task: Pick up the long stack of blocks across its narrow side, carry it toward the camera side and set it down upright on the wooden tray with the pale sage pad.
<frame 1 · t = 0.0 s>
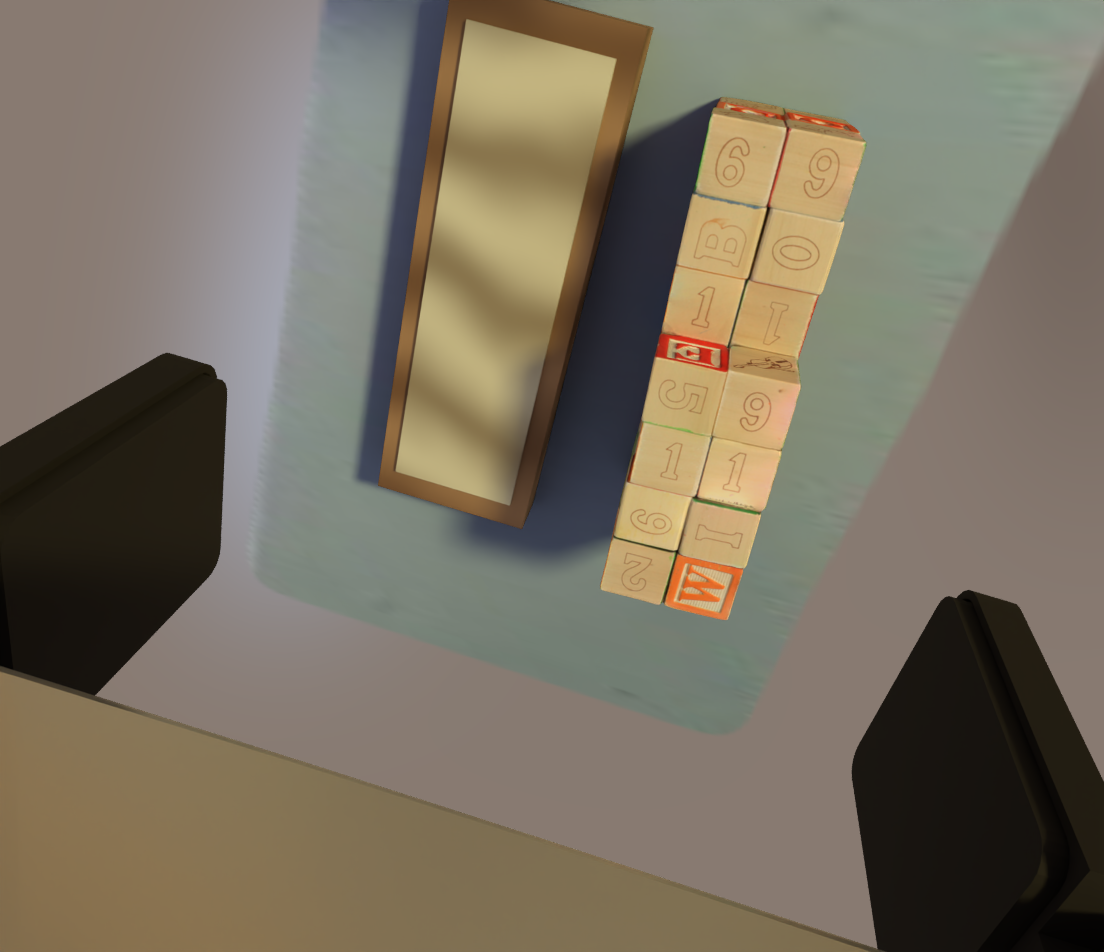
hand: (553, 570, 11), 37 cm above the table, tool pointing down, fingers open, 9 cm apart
stack of blocks: (724, 317, 47), on the table
wooden tray: (505, 277, 47), on the table
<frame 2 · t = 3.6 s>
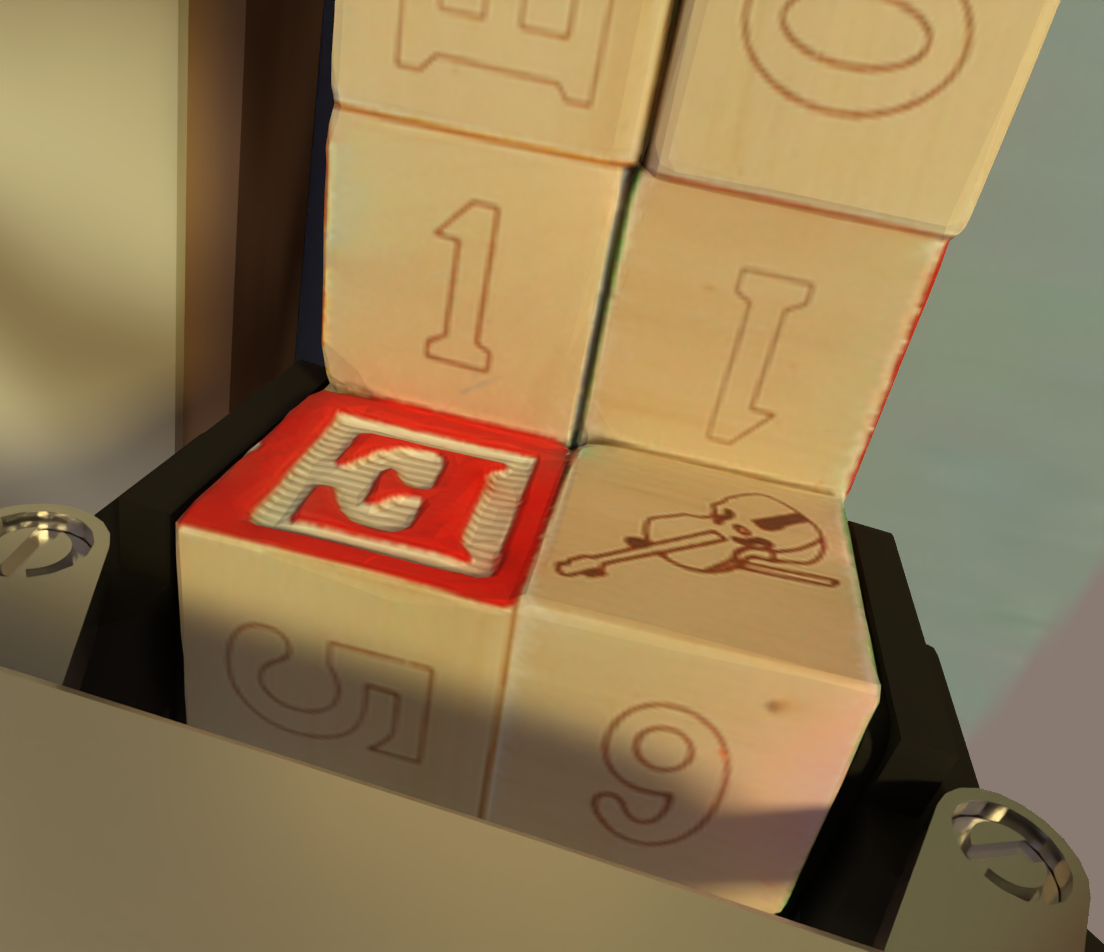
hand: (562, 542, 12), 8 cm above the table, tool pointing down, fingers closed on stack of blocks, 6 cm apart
stack of blocks: (632, 322, 19), on the table, touching gripper
wooden tray: (114, 242, 20), on the table
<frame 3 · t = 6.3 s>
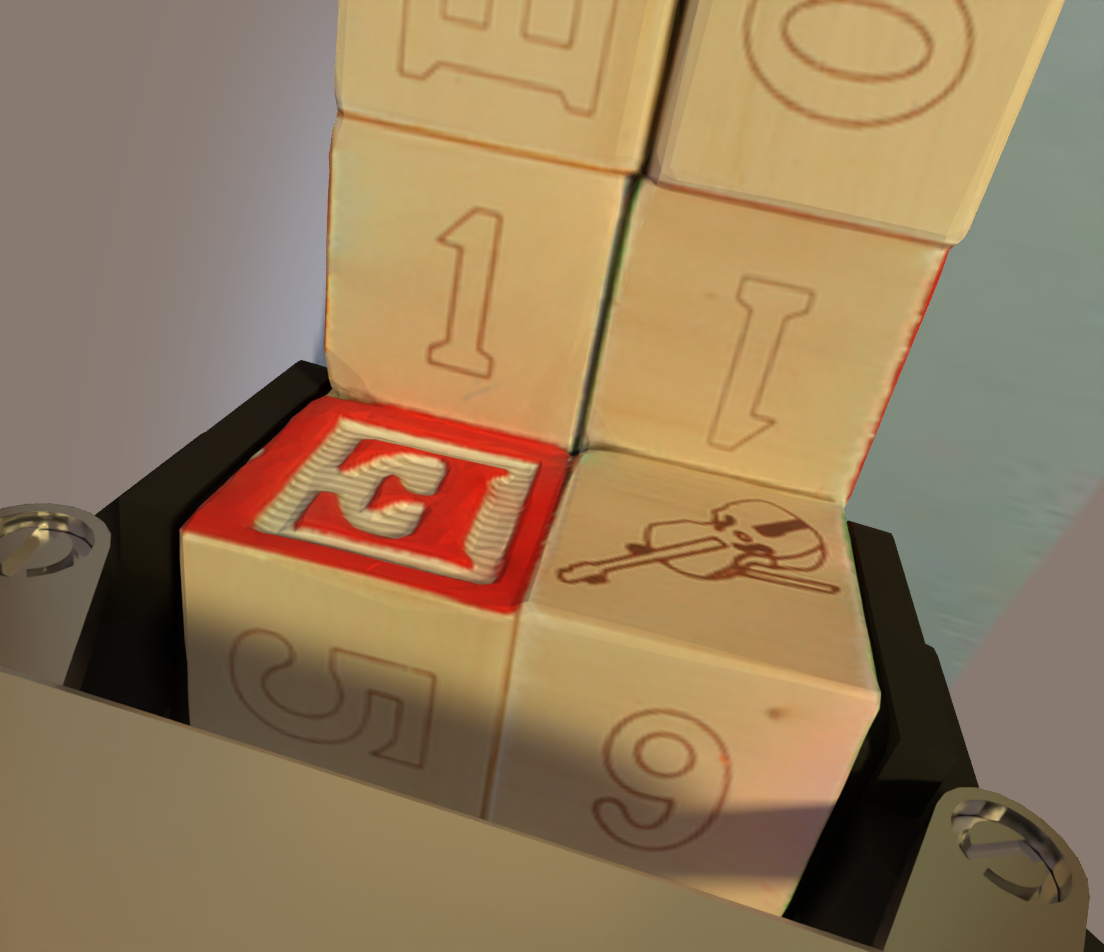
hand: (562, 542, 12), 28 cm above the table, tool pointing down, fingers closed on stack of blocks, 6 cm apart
stack of blocks: (633, 325, 19), point 19 cm above the table, touching gripper
when the fingers open (12 cm above the table, at t = 9.4 s): stack of blocks stays where it is, resting on wooden tray.
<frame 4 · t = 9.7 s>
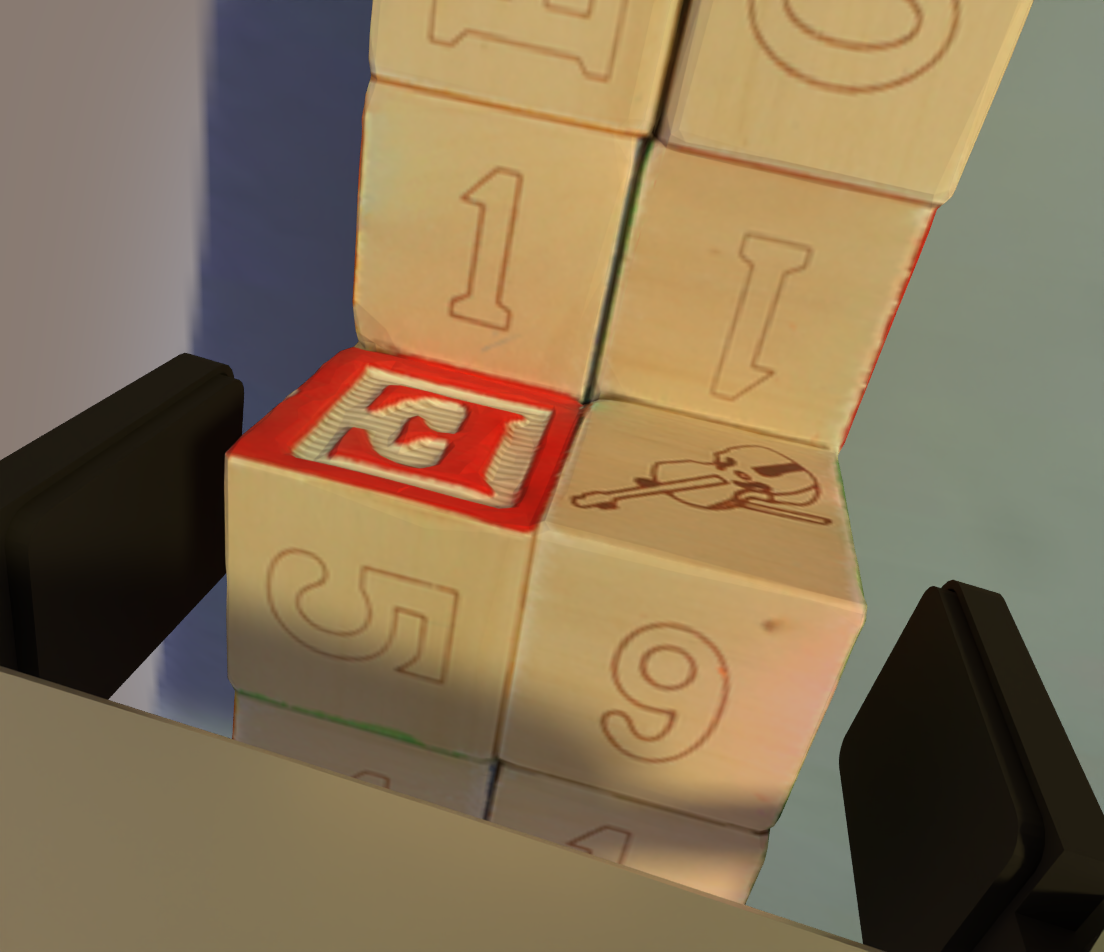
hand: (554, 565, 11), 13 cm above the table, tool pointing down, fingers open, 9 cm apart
stack of blocks: (639, 303, 19), point 3 cm above the table, touching wooden tray
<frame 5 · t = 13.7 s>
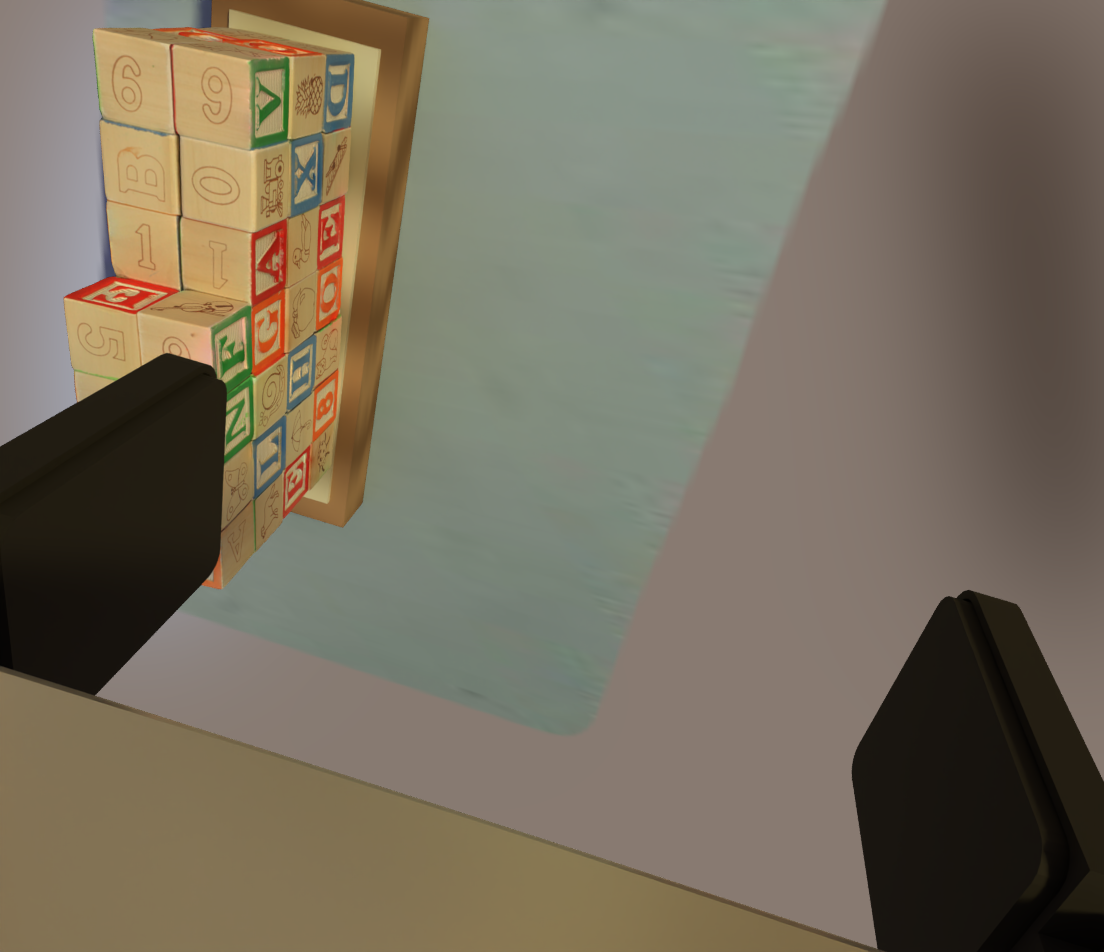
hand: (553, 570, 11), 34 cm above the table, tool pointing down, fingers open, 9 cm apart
stack of blocks: (288, 270, 44), point 3 cm above the table, touching wooden tray
wooden tray: (312, 272, 47), on the table
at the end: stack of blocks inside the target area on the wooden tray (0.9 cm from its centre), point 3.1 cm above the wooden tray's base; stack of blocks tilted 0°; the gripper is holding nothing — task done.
